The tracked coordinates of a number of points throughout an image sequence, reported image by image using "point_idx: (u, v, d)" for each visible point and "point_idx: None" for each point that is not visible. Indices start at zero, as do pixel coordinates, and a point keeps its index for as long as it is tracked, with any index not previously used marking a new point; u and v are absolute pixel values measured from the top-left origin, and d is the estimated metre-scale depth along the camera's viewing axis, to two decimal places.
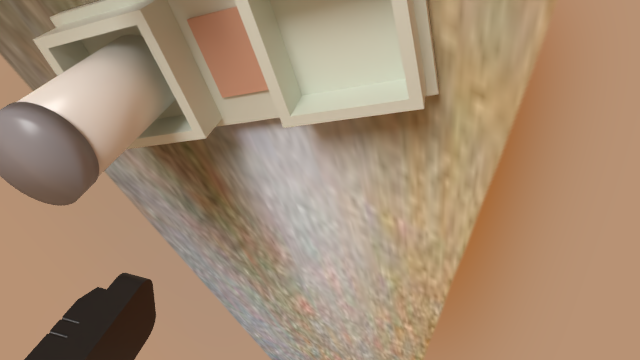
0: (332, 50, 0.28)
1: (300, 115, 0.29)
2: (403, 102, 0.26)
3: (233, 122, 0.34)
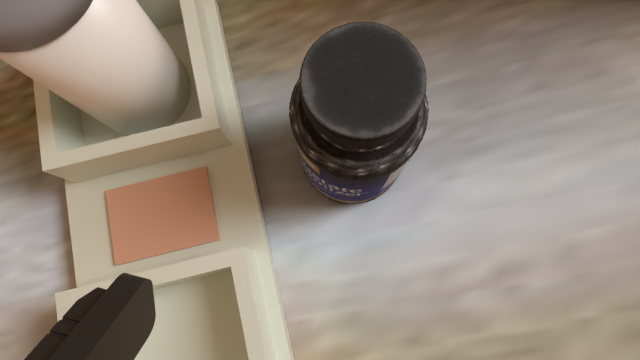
0: (163, 346, 0.23)
1: None
2: None
3: (68, 197, 0.25)
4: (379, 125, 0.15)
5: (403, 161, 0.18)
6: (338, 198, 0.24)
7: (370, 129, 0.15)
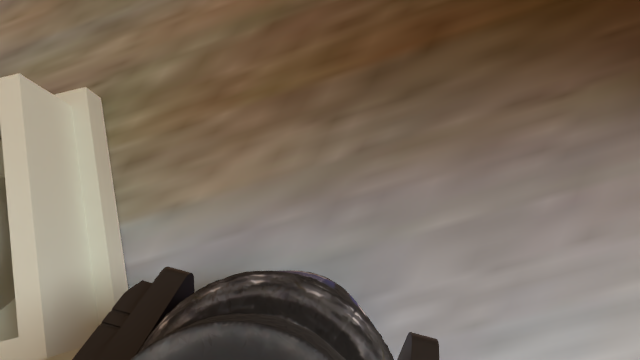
0: None
1: None
2: None
3: None
4: None
5: None
6: None
7: None
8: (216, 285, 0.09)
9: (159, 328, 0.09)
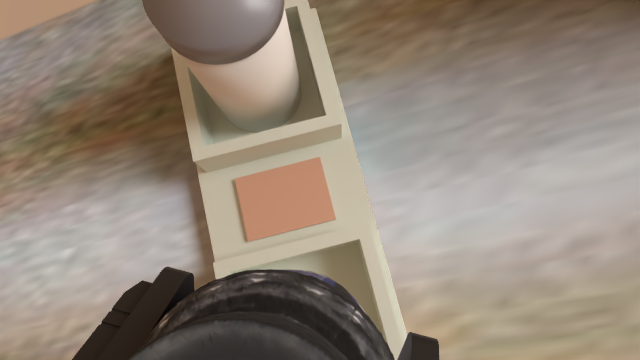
0: None
1: None
2: None
3: (202, 184, 0.29)
4: None
5: None
6: None
7: None
8: (216, 283, 0.09)
9: (159, 326, 0.09)
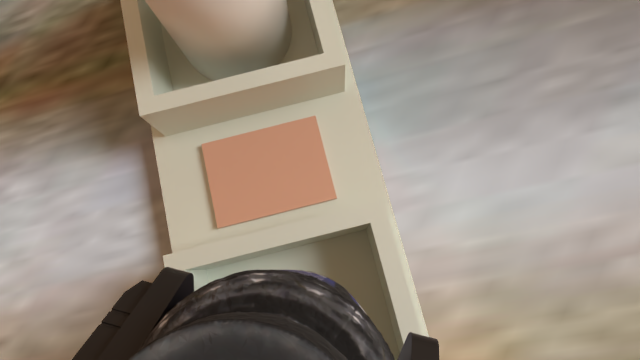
0: None
1: None
2: None
3: (158, 153, 0.22)
4: None
5: None
6: None
7: None
8: (216, 283, 0.09)
9: (159, 326, 0.09)
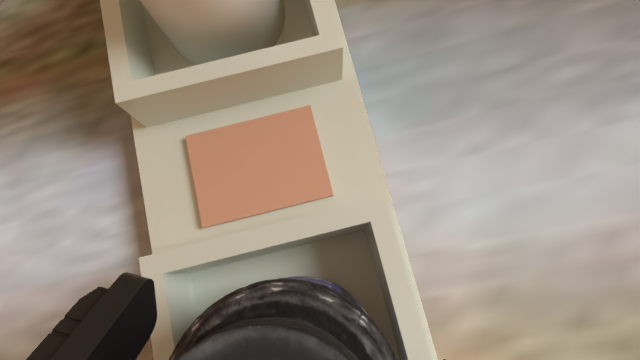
0: None
1: (164, 293, 0.16)
2: None
3: (138, 145, 0.20)
4: None
5: None
6: None
7: None
8: (240, 292, 0.11)
9: (192, 329, 0.10)
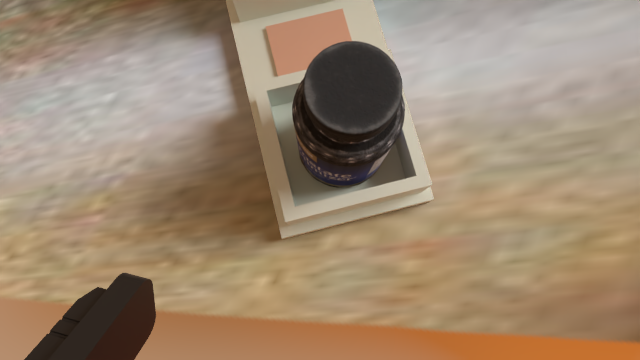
0: None
1: (268, 101, 0.28)
2: (290, 201, 0.27)
3: (235, 33, 0.32)
4: (366, 123, 0.19)
5: (385, 151, 0.22)
6: (330, 183, 0.28)
7: (359, 126, 0.19)
8: None
9: None
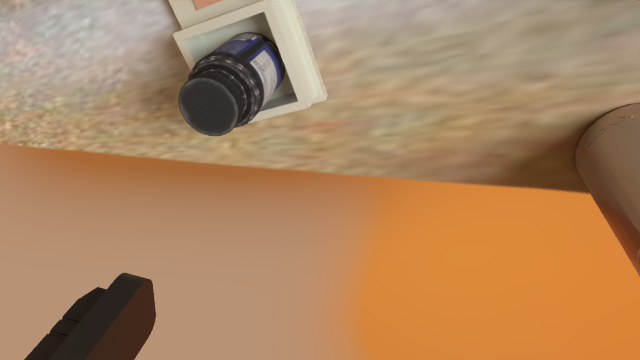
0: None
1: (187, 48, 0.38)
2: None
3: None
4: (220, 130, 0.32)
5: None
6: None
7: (216, 132, 0.32)
8: (202, 60, 0.32)
9: (191, 72, 0.33)
